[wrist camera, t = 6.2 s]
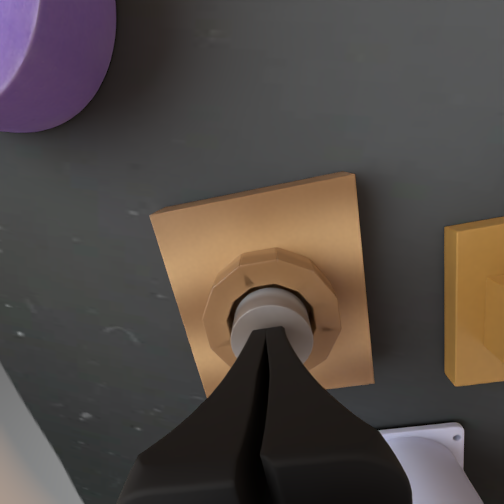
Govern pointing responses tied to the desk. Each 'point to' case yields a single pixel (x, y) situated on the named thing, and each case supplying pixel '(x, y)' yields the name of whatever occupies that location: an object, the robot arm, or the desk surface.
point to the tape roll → (52, 59)
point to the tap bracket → (474, 302)
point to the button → (273, 319)
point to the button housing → (272, 271)
